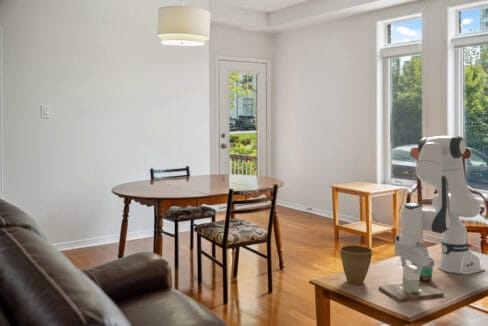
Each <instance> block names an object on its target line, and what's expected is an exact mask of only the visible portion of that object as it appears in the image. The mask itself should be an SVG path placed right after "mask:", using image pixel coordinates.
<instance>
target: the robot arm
mask: <svg viewBox="0 0 488 326" xmlns="http://www.w3.org/2000/svg"><path fill="white" fill-rule="evenodd" d="M466 149H467V143H466V141H465V139H464V137H462V136H459V135H439V136H431V137H429V136H426V137H423V138H421V139H420V141H419V142H418V144H417V151H418V154H419V155H418V158H417V163H416V167H415V174H416V176H417V178H418V179H419V180H420V182H422V183H423V184H425V185H428V186H430V187H431V188H434V189H435V190H436V192H437V193H435V194H434V195H433V197H432V200H431V205H432V208H433V209H430V208H429V209H428V208H423V206H422V205H421V203H418V202H408V203H405V204H404V205H403V208H402V213H401V226H402V228H401V234H397V235H394V240H395V241H394V254H395V255H396V256H398V257H400V261H401V266H402V268H403V266H408V263H407V261H408V262H410V263H411V264H412V263H415V264H417V270H415V273H416V274H421V269H422V267H425V266H428V265H429V257H430V256H429V255H430V254H429V250H428V248H427V246H426V245H425V244H423V231H426V232H427V231H429V232H432V233H433V232H434V233H436V234H442V240H441V246H440V247H441V255H440V260H439V264H438V269H439V270H441V271H443V272H448V273H454V274H461V275H465V276H466V275H471V274H475V273H480V272H485V270H486V267H484V266H482V265H481V261H480V258H479V256H478V255H477V254H475V253H474V252H473V251H472V250H470V248H471V249H473V248H474V244H473V243H470V242H469V243H468V242H467V230H468V229H467V226H466V225H465V224H464V223H463V222H462V221H461V219H460V218H465V219H466V218H468V219H469V218H475V217H477V216H478V215H479V214H480V213H481V208H482V207H481V206H482V205H481V202H480V201H479V200H478V199H477V198H476V197H475V195H473V193H472V192H471V190H470V189H469V187H468V184H467V181H466V177H465V170H464V163H463V162H464V161H463V156H464V155H465V153H466Z"/></svg>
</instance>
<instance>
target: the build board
mask: <svg viewBox="0 0 488 326" xmlns="http://www.w3.org/2000/svg"><path fill="white" fill-rule="evenodd" d="M402 284H403V282H402V283H395V284H394V283H393V284H387V285H386V284H385V285H378V290H379V291H381V292H383V293H385V295H388V296H389V297H390V298H392V299H394V300H395V301H397V302H399V303H403V302H404V303H405V302H411V301H412V302H413V301H418V300H427V299H435V298H440V297H441V298H442V297H445V293H444V292H443V291H441V290H439V289H438V288H437V289H436V288H435V287H433V286H431V285H429V284H427V283H423V282H421V281H419V290H418V291H410V292H409V291H407V290H406V289H404V288H402Z"/></svg>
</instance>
